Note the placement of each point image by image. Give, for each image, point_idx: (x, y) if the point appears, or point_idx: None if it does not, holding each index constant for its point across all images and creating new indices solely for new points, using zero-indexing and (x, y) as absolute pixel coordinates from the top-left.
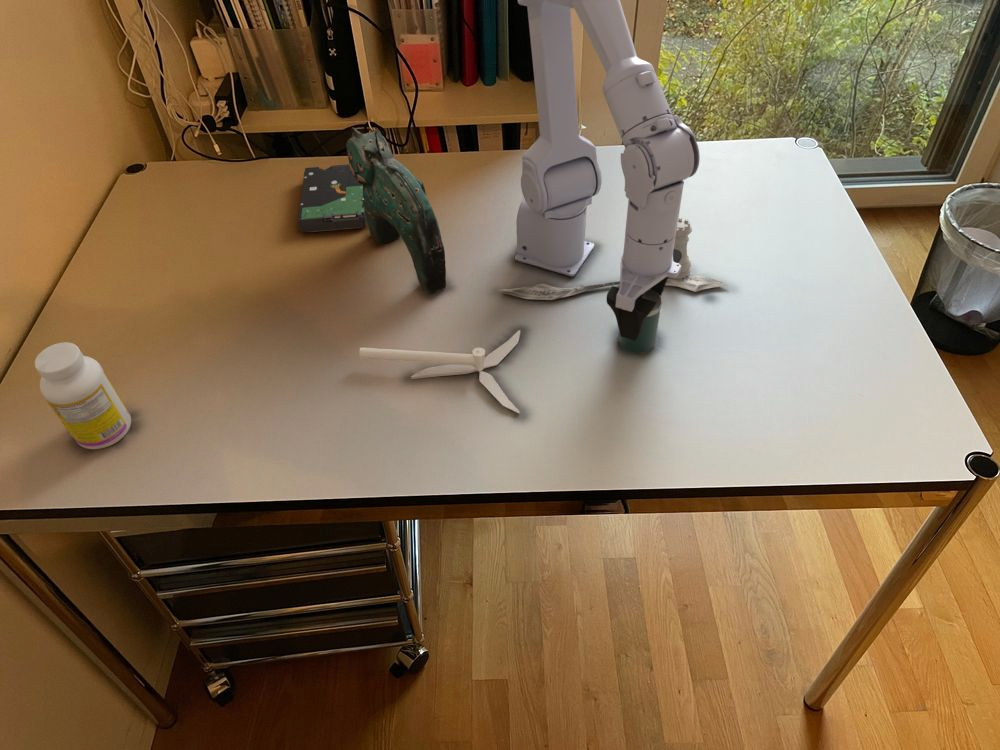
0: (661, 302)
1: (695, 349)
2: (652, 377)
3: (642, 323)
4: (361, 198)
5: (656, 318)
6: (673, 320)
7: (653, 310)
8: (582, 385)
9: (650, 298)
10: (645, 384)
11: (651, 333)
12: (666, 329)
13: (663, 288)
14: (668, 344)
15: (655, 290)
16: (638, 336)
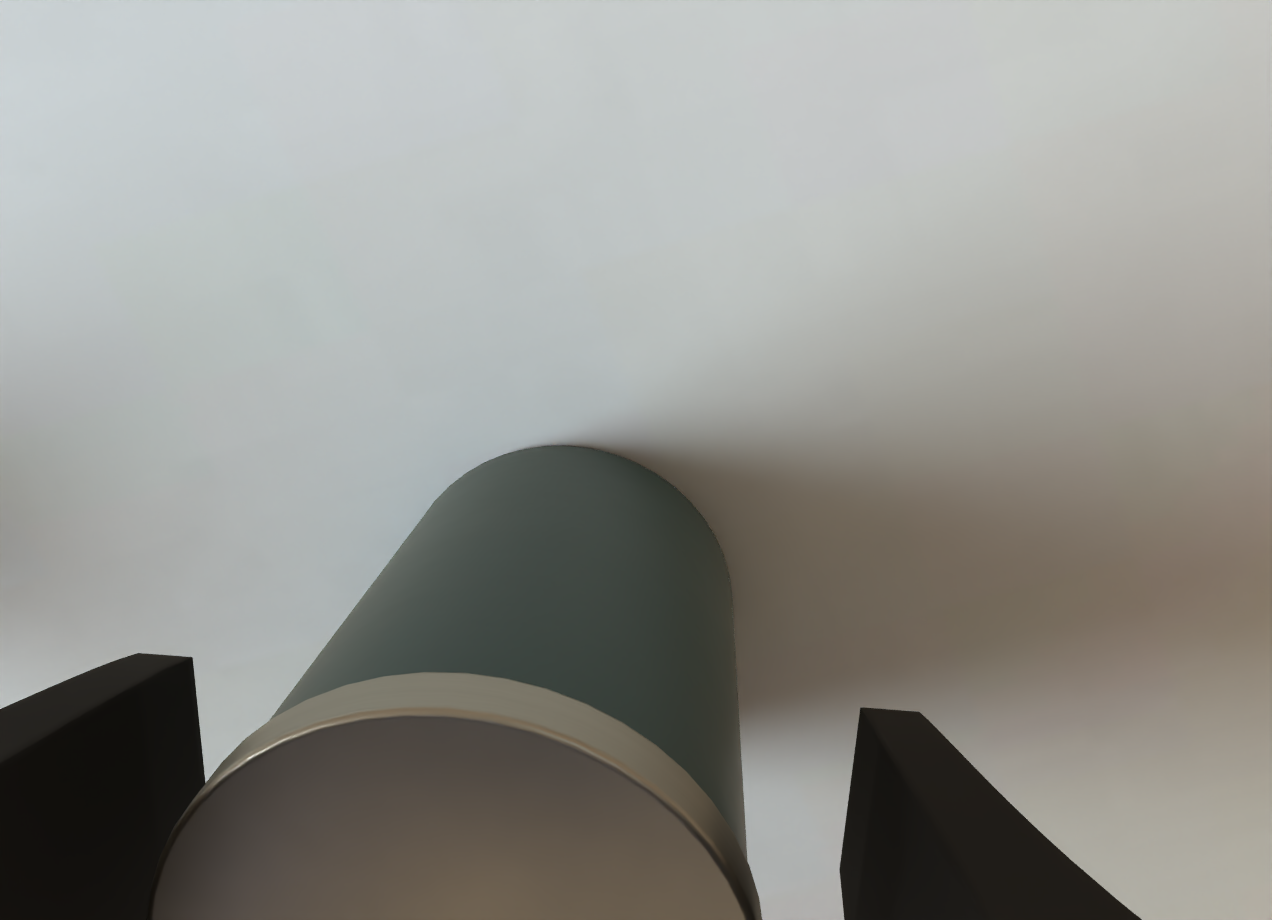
0: (368, 724)
1: (447, 53)
2: (979, 345)
3: (1067, 897)
4: None
5: (566, 632)
6: (167, 373)
7: (610, 788)
8: (1242, 844)
9: (357, 889)
10: (1089, 380)
11: (639, 559)
12: (312, 400)
13: (3, 744)
14: (494, 328)
15: (81, 806)
16: (729, 667)
